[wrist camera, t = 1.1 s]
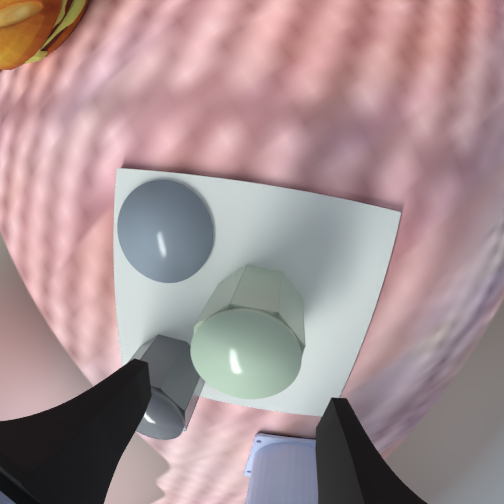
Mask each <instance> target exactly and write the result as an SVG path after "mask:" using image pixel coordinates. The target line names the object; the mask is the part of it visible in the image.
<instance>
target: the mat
mask: <svg viewBox="0 0 504 504" xmlns="http://www.w3.org/2000/svg"><path fill="white" fill-rule="evenodd" d="M155 180H170V181H174V182H177V183H180V184H182V185H184V186H186V187H187V188H189V189H190V190H192V191H193V192H194V193H195V194H196V195H197V196H198V197H199V198H200V199H201V201H202V202H203V204H204V205H205V207H206V209H207V211H208V213H209V216H210V218H211V222H212V227H213V243H212V248H211V251H210V254H209V256H208V258H207V260H206V262H205V263H204V265H203V266H202V267H201V268H200V270H199V271H198V272H197V273H195V274H194V275H193V276H191V277H190V278H188V279H186V280H183V281H180V282H176V283H162V282H157V281H154V280H151V279H149V278H147V277H145V276H144V275H142V274H141V273H139V272H138V271H137V270H136V269H135V268H134V267H133V266H132V265H131V264H130V263H129V261H128V260H127V258H126V257H125V255H124V253H123V251H122V249H121V246H120V243H119V239H118V233H117V223H118V216H119V212H120V209H121V206H122V204H123V202H124V201H125V199H126V198H127V196H128V195H129V194H130V193H131V192H132V191H133V190H134V189H135V188H137V187H138V186H140V185H142V184H144V183H146V182H150V181H155ZM400 216H401V212H399V211H396V210H392V209H388V208H384V207H379V206H375V205H371V204H366V203H362V202H357V201H352V200H348V199H343V198H338V197H333V196H328V195H323V194H318V193H313V192H307V191H302V190H296V189H290V188H285V187H279V186H273V185H266V184H260V183H254V182H247V181H240V180H233V179H225V178H218V177H210V176H202V175H193V174H184V173H175V172H165V171H154V170H142V169H129V168H117V173H116V186H115V204H114V281H115V299H116V313H117V324H118V334H119V343H120V351H121V358H122V365H123V366H124V365H125V364H127V363H128V361H129V360H130V359H131V357H132V356H133V355H134V354H135V352H136V351H137V350H138V348H139V347H140V346H141V345H143V344H144V343H146V342H147V341H149V340H151V339H152V338H154V337H155V336H157V335H158V334H159V335H163V336H167V337H170V338H174V339H178V340H182V341H186V342H187V343H188V344H189V345H190V346H191V342H192V339H193V337H194V324H195V323H196V321H197V319H198V317H199V316H200V314H201V312H202V311H203V309H204V307H205V306H206V304H207V302H208V300H209V299H210V297H211V295H212V294H213V292H214V290H215V289H216V287H217V285H218V284H219V283H220V282H222V281H223V280H225V279H226V278H228V277H229V276H231V275H232V274H234V273H235V272H237V271H238V270H240V269H241V268H243V267H244V266H245V265H248V266H254V267H260V268H265V269H271V270H276V271H282V272H283V273H284V275H285V276H286V277H287V279H288V280H289V282H290V283H291V284H292V286H293V287H294V288H295V290H296V291H297V292H298V294H299V295H300V297H301V298H302V301H303V314H304V328H305V344H306V347H305V349H304V352H303V355H302V360H301V368H300V371H299V374H298V376H297V377H296V380H294V382H293V383H292V384H291V385H290V386H289V387H288V388H286V389H285V390H283V391H282V392H280V393H278V394H276V395H273V396H270V397H266V398H261V399H242V398H237V397H232V396H229V395H226V394H224V393H222V392H220V391H218V390H216V389H214V388H213V387H212V386H210V385H209V384H208V383H207V382H204V383H205V384H204V386H203V389H202V391H201V394H200V397H204V398H209V399H213V400H217V401H222V402H227V403H231V404H236V405H241V406H247V407H252V408H258V409H264V410H271V411H277V412H285V413H293V414H301V415H311V416H323V414H324V412H325V410H326V408H327V406H328V404H329V402H330V400H331V397H334V398H339V397H340V394H341V392H342V390H343V388H344V386H345V383H346V381H347V379H348V377H349V374H350V372H351V370H352V367H353V365H354V362H355V360H356V358H357V355H358V353H359V350H360V348H361V345H362V342H363V340H364V337H365V334H366V332H367V329H368V326H369V324H370V321H371V318H372V315H373V312H374V309H375V306H376V303H377V300H378V297H379V294H380V291H381V288H382V284H383V281H384V278H385V274H386V271H387V267H388V264H389V260H390V257H391V253H392V249H393V245H394V241H395V237H396V233H397V229H398V225H399V220H400Z"/></svg>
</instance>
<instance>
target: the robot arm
mask: <svg viewBox="0 0 504 504" xmlns="http://www.w3.org/2000/svg"><path fill="white" fill-rule="evenodd" d="M151 396H152V393H151V385H150V376H149V367H148V362H145V361H142V360H138V359H135V358H134V359H132V360H131V361H130V362H128V363H127V364H125V365H124V366H123V367H121V368H120V369H118V370H117V371H116V372H114V373H113V374H111V375H110V376H109V377H107V378H106V379H104V380H103V381H101V382H100V383H98V384H97V385H95V386H94V387H92V388H90V389H89V390H87V391H85V392H84V393H82V394H80V395H79V396H77V397H75V398H73V399H71V400H69V401H67V402H65V403H63V404H61V405H59V406H57V407H54V408H51V409H49V410H46V411H43V412H40V413H37V414H34V415H31V416H27V417H23V418H19V419H14V420H8V421H0V504H104V501H105V497H106V494H107V491H108V488H109V485H110V483H111V480H112V477H113V474H114V472H115V469H116V467H117V464H118V462H119V460H120V458H121V456H122V454H123V452H124V450H125V448H126V446H127V445H128V443H129V441H130V440H131V438H132V436H133V434H134V433H135V431H136V429H137V427H138V425H139V424H140V422H141V420H142V418H143V416H144V414H145V412H146V409H147V407H148V404H149V402H150V399H151ZM244 475H245V476H246V477H250V480H249V486H248V492H247V497H246V503H245V504H427V503H426V502H424V501H423V500H422V499H421V498H419V497H418V496H417V495H416V494H415V493H414V492H413V491H412V490H410V489H409V488H408V487H407V486H406V485H405V484H404V483H403V482H402V481H401V480H400V479H399V478H398V477H397V476H396V475H395V473H394V472H393V471H392V470H391V469H390V467H389V466H388V465H387V464H386V462H385V461H384V460H383V458H382V457H381V455H380V454H379V453H378V451H377V450H376V448H375V447H374V445H373V444H372V442H371V440H370V439H369V437H368V436H367V434H366V432H365V431H364V429H363V427H362V426H361V424H360V422H359V420H358V418H357V417H356V415H355V413H354V411H353V409H352V407H351V406H350V404H349V402H348V400H347V399H346V398H334V397H331V400H330V402H329V404H328V406H327V408H326V410H325V412H324V414H323V416H322V418H321V420H320V422H319V424H318V426H317V428H316V440H314V439H303V438H293V437H284V436H276V435H269V434H262V433H258V434H256V435H255V438H254V441H253V445H252V448H251V451H250V455H249V458H248V462H247V465H246V468H245V471H244Z"/></svg>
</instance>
